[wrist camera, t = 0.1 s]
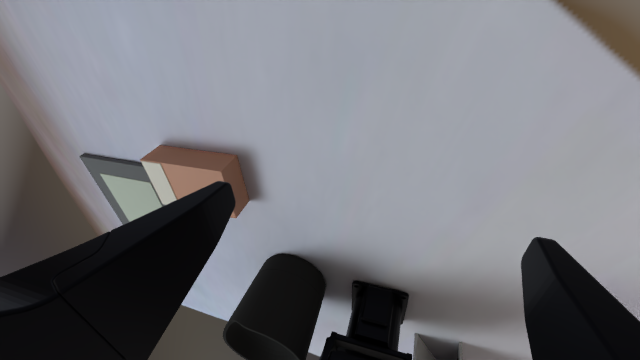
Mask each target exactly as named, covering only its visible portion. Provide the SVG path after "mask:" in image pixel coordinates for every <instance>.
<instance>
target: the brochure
mask: <svg viewBox="0 0 640 360" xmlns="http://www.w3.org/2000/svg"><path fill="white" fill-rule="evenodd" d="M413 360H436V359H435V358H434V356H433V355H432V354H431V352H430V351H429V349H428V348H427V347H426V345H425V344H424V342H423V341H422V340H421V338H420V337H419V335H418V334H415V340H414V355H413ZM458 360H462V342H459V349H458Z"/></svg>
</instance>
